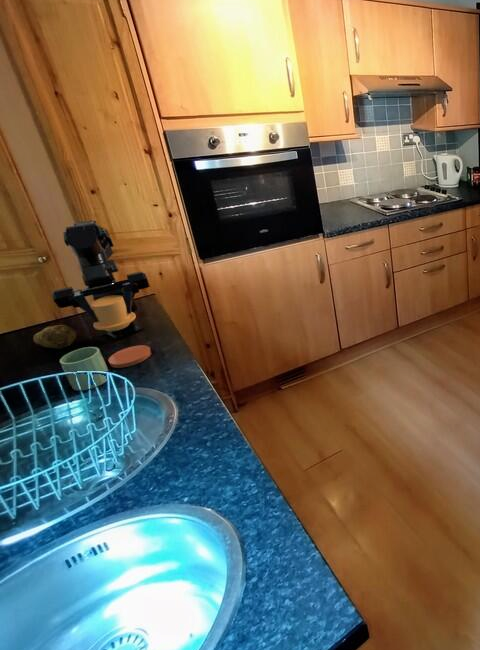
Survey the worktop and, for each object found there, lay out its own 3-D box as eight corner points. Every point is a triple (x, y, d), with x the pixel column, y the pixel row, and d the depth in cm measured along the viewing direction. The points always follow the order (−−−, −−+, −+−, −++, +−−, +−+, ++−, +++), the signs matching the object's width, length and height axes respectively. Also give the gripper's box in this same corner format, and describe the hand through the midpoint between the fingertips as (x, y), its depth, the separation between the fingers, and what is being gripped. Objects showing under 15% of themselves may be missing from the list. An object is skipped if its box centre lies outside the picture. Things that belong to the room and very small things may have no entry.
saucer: (103, 362, 122) (101, 358, 121) (140, 345, 129) (139, 342, 129) (120, 371, 118) (118, 367, 118) (158, 354, 125) (156, 350, 125)
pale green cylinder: (67, 385, 113) (54, 358, 110) (102, 369, 119) (90, 344, 115) (80, 394, 110) (67, 367, 106) (116, 377, 116) (104, 351, 112)
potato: (75, 334, 134) (64, 311, 131) (84, 350, 127) (72, 326, 124) (36, 346, 129) (24, 322, 125) (43, 363, 121) (30, 338, 118)
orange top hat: (87, 333, 116) (75, 307, 113) (118, 317, 124) (108, 292, 121) (116, 336, 115) (105, 310, 112) (146, 319, 123) (136, 294, 119)
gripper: (36, 261, 108) (55, 318, 105) (134, 243, 119) (153, 294, 117) (50, 280, 116) (68, 334, 114) (140, 262, 128) (158, 310, 125)
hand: (113, 317), depth 117 cm, fingers closed on orange top hat, 6 cm apart
